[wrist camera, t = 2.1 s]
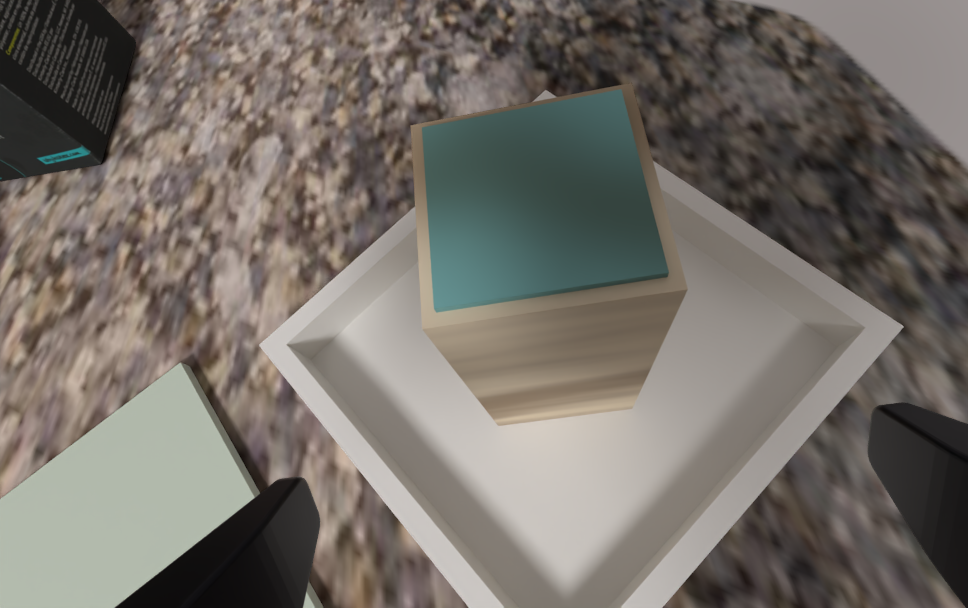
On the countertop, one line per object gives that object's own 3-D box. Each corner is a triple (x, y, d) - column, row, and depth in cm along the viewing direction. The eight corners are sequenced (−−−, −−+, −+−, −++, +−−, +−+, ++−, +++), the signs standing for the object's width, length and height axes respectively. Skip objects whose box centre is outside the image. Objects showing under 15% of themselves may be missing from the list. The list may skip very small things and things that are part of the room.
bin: (866, 349, 20) (904, 326, 18) (564, 697, 17) (562, 723, 15) (548, 128, 26) (545, 89, 24) (290, 362, 23) (258, 345, 21)
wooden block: (632, 408, 20) (689, 285, 10) (498, 425, 20) (419, 325, 10) (606, 286, 22) (632, 75, 12) (485, 305, 22) (408, 119, 12)
